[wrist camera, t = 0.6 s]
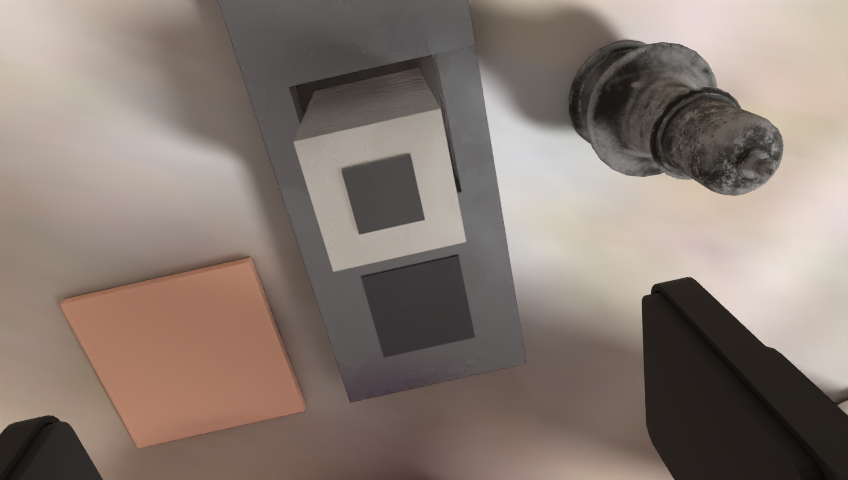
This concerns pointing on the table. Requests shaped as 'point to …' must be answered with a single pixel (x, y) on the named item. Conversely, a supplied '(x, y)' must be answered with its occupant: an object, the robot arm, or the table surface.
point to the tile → (187, 352)
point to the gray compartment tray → (475, 180)
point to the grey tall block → (379, 170)
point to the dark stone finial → (670, 119)
